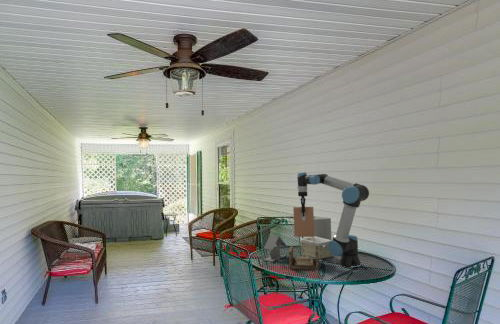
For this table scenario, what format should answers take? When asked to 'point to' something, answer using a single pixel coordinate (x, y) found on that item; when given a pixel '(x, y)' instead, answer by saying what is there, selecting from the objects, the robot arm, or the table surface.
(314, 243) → the storage basket
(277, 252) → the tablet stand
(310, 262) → the offcut stack
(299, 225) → the sheet
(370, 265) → the table surface
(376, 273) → the table surface
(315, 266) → the rack
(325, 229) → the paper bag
